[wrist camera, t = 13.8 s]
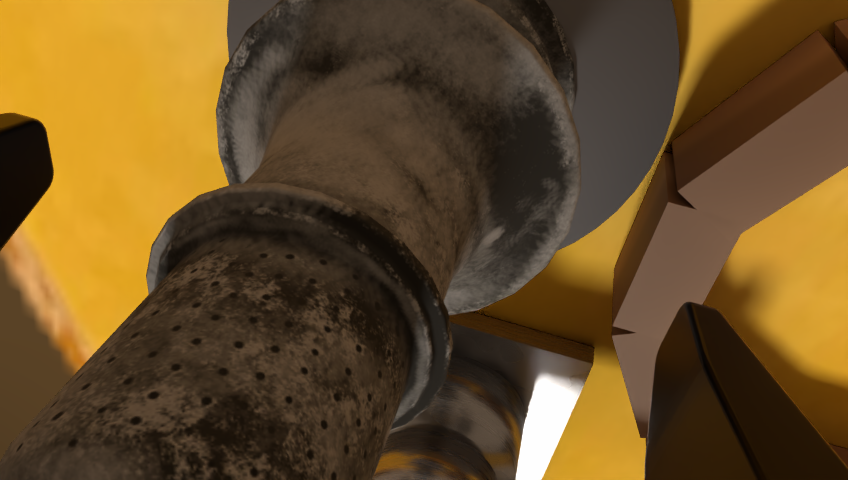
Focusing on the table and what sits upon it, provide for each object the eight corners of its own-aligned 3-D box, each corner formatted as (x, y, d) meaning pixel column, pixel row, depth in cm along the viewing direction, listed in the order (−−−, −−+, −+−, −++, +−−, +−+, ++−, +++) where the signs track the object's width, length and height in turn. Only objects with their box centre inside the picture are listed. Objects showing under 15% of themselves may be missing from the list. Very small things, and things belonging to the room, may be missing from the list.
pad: (765, -119, 11) (770, -114, 11) (592, 297, 16) (591, 313, 16) (241, -233, 12) (224, -232, 11) (239, 197, 17) (228, 210, 17)
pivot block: (594, 347, 17) (589, 424, 15) (532, 486, 21) (522, 563, 19) (365, 281, 18) (332, 346, 16) (344, 427, 21) (314, 495, 19)
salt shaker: (246, 74, 15) (-517, 662, 5) (438, -153, 11) (-653, 235, 2) (439, 260, 16) (149, 1003, 6) (657, 105, 13) (752, 1119, 3)
